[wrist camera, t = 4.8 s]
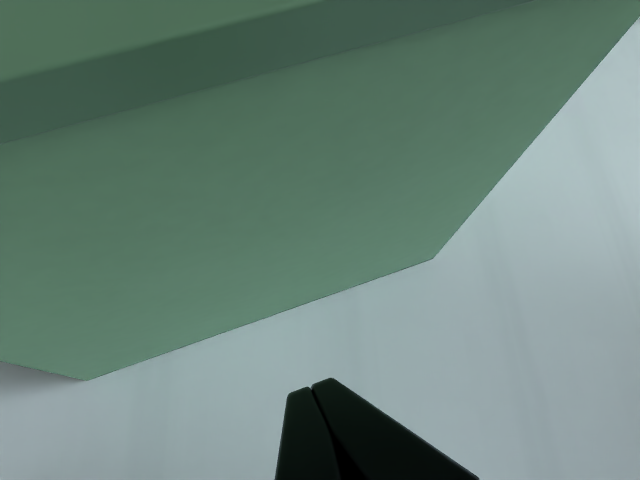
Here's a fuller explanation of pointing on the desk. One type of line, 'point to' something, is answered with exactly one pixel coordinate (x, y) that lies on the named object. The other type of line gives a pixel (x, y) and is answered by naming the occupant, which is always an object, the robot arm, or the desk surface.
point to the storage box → (252, 153)
